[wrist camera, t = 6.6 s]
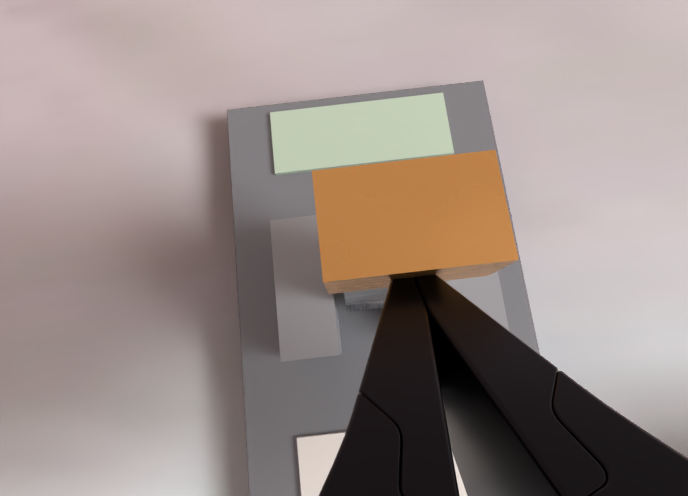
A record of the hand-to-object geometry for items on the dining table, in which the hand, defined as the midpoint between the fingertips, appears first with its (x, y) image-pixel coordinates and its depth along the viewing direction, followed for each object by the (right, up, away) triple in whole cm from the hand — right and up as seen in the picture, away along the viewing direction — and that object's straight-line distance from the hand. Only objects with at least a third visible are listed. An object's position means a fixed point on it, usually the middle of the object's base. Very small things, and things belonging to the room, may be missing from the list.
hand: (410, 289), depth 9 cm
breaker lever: (0, 0, +7) cm, 7 cm away
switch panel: (0, -1, +10) cm, 10 cm away
